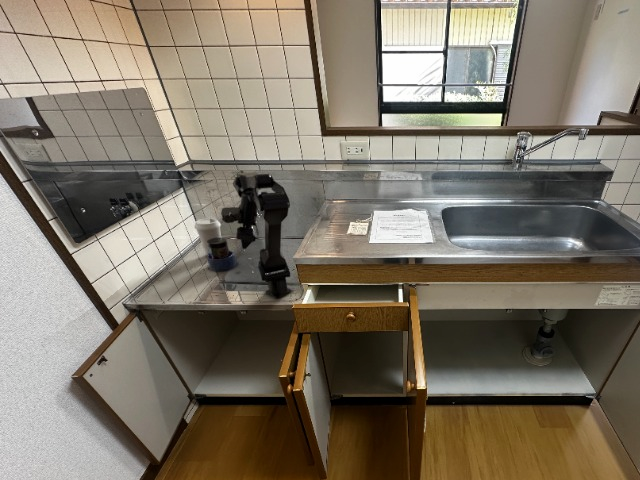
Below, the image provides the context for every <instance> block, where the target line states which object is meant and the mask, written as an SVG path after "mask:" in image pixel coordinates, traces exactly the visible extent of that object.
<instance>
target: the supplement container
mask: <svg viewBox="0 0 640 480" xmlns="http://www.w3.org/2000/svg"><path fill="white" fill-rule="evenodd" d="M207 244H208V247H209V251H210V254H211V258H212V259H223V258H227V257H229V256H230V254H229V250H230V249H229V245H228V241H227V238H225V237H221V238H212V239H209V240H208V241H207Z"/></svg>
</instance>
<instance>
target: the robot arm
mask: <svg viewBox="0 0 640 480" xmlns="http://www.w3.org/2000/svg"><path fill="white" fill-rule="evenodd" d="M232 186H233V188H234V189H235V191H236V194H237V195H238V197H239V198H240V204H239V206H237V207H235V206H229V207H223V208H221V212H220V214H221V215H220V216H221V220H222V221H223V223H226V224H234V223H235V222H237V224H239V225H242V226H239V227H237V228H236V237H235V238H236V239H237V240H240V242H241V247H242V249H243V250H246V249H248V247H249V246H250V245H251V244H252V243H254V242H256V239H257V231H256V230H255V229H254V228H253V226H254V227H255V226H257V218H258V214H259V213H260V214H261V216H262V219H263V220H264V244H265V245H264V248H263V249H260V250H259V260H258V264H257V268H258V270H259V274H260V277H261V281H262V282H265V283H267V287H268V290H266V291H265V294H267V295H269V296H271V297H273V298H274V299H279V298H281V297H284V296H286V295H287V294H289V293H292V289H290V288H288V283H287V278H291V271H290V269H289V265H288V263H287V260H286V258H285V257H284V255H283V253H282V250H281V246H282V245H281V244H282V224H283V223H282V222H283V221H284V220H285V219H286V218H287V217H288V215H289V210H290V208H291V202H290V198H289V196H288V194H287V192H286V190H285V188H284V187H283V186H282V185H281V184H279V183H278V182H277V181H276V180H275V179H274V177H273V175H272V174H270V173H258V172H256V171H255V172H252V171H251V172H238V173H236V176H234V180H233V182H232ZM262 189H271V190H272V192H266V193H259V191H260V190H262ZM258 212H259V213H258Z"/></svg>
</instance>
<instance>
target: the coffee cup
mask: <svg viewBox="0 0 640 480" xmlns="http://www.w3.org/2000/svg"><path fill="white" fill-rule="evenodd" d="M221 226H222V223H221V222H220V221H219V220H218V219H217V218H213V217H205V218H200V219H197V220H195V223H194V229H195V230H196V232H197V234H198V237H199V239H200V242H201V244H202V248H203V249H204V252H205V255H206V256H207V254H208V253H210V251H209V247H208V244H207V241H208V240H209V239H212V238H222V231H221Z"/></svg>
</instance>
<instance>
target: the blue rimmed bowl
mask: <svg viewBox="0 0 640 480" xmlns="http://www.w3.org/2000/svg"><path fill="white" fill-rule="evenodd" d="M229 254H230V256H229V257H227V258H223V259H212V258H211V254H210V253H208V254H207V255H206V261H207V264H208V267H209V269H210V271H213V272H224V271H229V270H231V269H234V268H235V267H236V266H237V261H236V256H235V252H234V251H232V250H230V249H229Z"/></svg>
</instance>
